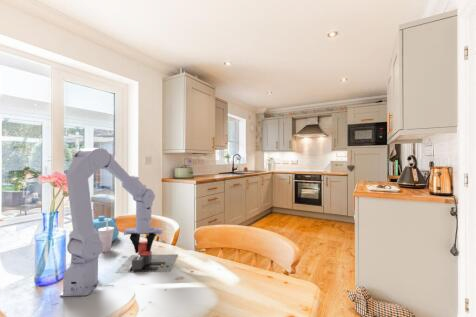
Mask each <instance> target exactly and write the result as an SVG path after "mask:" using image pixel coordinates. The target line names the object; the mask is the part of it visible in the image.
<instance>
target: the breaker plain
mask: <svg viewBox="0 0 476 317" xmlns="http://www.w3.org/2000/svg"><path fill="white" fill-rule="evenodd" d="M143 266H144V257H135V258H134V259H133V260H132V270H135V269H142V268H143Z"/></svg>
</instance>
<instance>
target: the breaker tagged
mask: <svg viewBox="0 0 476 317" xmlns="http://www.w3.org/2000/svg"><path fill="white" fill-rule="evenodd" d="M152 255H153V252H152V251H144V252H142V253H141V255H140V257H144V264H149V263H150V262H151V261H152Z"/></svg>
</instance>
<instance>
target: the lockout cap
mask: <svg viewBox="0 0 476 317" xmlns="http://www.w3.org/2000/svg"><path fill="white" fill-rule="evenodd" d="M144 251H147V240H145V241H139V243H138V253H137V255H141V253H142V252H144Z"/></svg>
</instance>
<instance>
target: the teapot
mask: <svg viewBox="0 0 476 317" xmlns="http://www.w3.org/2000/svg"><path fill="white" fill-rule="evenodd" d="M106 219H108V227H114V231H113V237H112V242H113V241H115V240H116V239H117V238H118V237H119V233H120V232H119V228H118V225H117V224H116V223H117V219H116V218H115V217H106V216H105V215H99V216H97V218H96V219H93V226H94V228H95V229H96V231H97V232H98V229H100V228H103V227H106ZM98 234H99V233H98Z"/></svg>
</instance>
